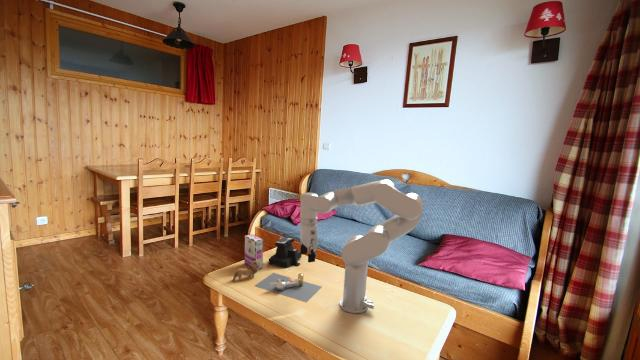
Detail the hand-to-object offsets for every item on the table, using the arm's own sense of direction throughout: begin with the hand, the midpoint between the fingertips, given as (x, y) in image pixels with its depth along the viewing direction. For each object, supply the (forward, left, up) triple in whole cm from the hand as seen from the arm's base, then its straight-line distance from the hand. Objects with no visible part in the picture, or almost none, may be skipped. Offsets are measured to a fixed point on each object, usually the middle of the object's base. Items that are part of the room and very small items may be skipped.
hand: (307, 257), depth 142 cm
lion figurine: (+32, +3, -18) cm, 37 cm away
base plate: (+10, -1, -18) cm, 20 cm away
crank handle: (+10, +1, -16) cm, 19 cm away
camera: (+26, -26, -18) cm, 41 cm away
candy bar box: (+39, -12, -18) cm, 45 cm away
